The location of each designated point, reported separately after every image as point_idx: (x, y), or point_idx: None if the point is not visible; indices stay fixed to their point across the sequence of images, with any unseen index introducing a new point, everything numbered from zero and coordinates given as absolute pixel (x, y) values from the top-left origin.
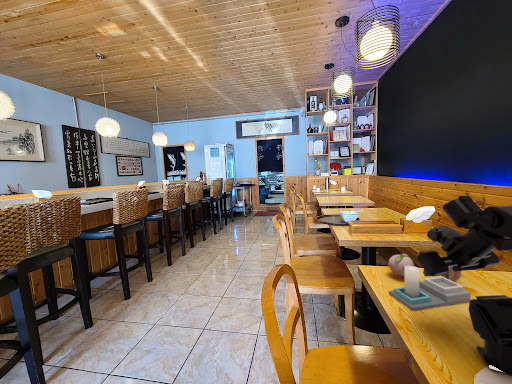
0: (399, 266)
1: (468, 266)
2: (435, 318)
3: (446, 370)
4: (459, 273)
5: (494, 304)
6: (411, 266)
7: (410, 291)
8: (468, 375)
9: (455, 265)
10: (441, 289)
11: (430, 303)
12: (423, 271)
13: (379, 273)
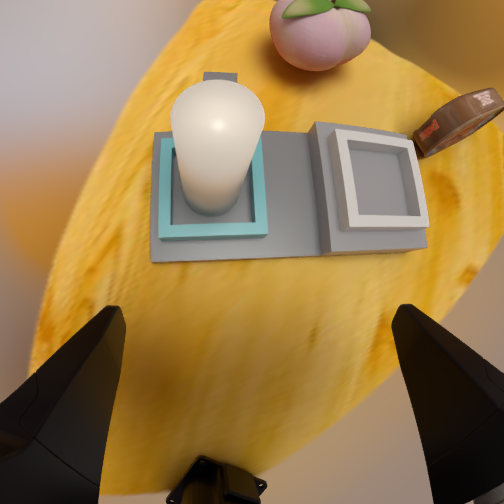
0: (289, 35)
1: (439, 446)
2: (199, 320)
3: None
4: (473, 129)
5: None
6: (237, 96)
7: (186, 194)
8: (106, 493)
9: (423, 344)
10: (343, 212)
11: (249, 248)
12: (88, 323)
13: (243, 27)
